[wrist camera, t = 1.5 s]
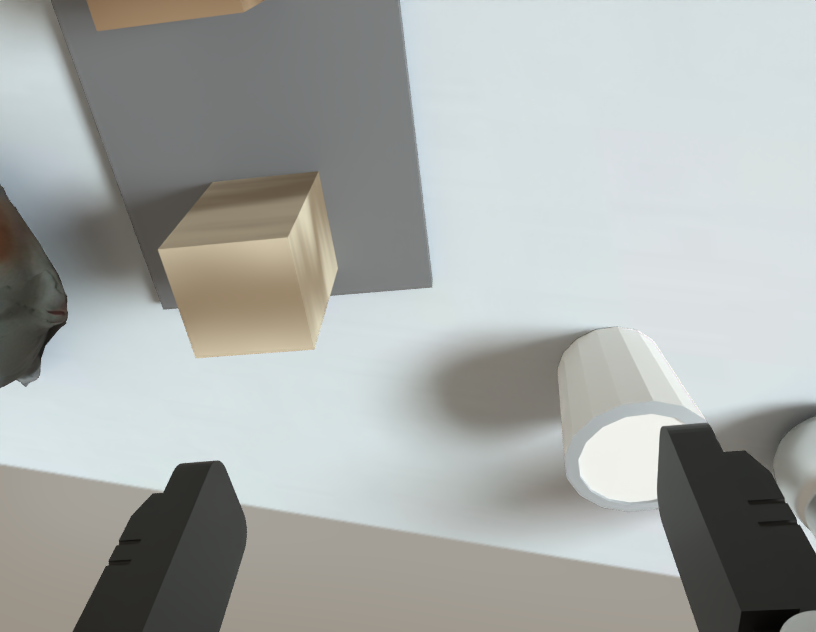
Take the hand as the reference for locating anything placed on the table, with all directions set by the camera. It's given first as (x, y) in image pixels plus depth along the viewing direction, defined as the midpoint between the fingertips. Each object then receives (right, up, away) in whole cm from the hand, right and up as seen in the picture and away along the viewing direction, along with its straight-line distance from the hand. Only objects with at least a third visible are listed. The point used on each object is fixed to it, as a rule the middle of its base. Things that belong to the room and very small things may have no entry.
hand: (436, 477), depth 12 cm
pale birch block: (-7, +7, +20) cm, 22 cm away
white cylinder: (+10, 0, +24) cm, 27 cm away
